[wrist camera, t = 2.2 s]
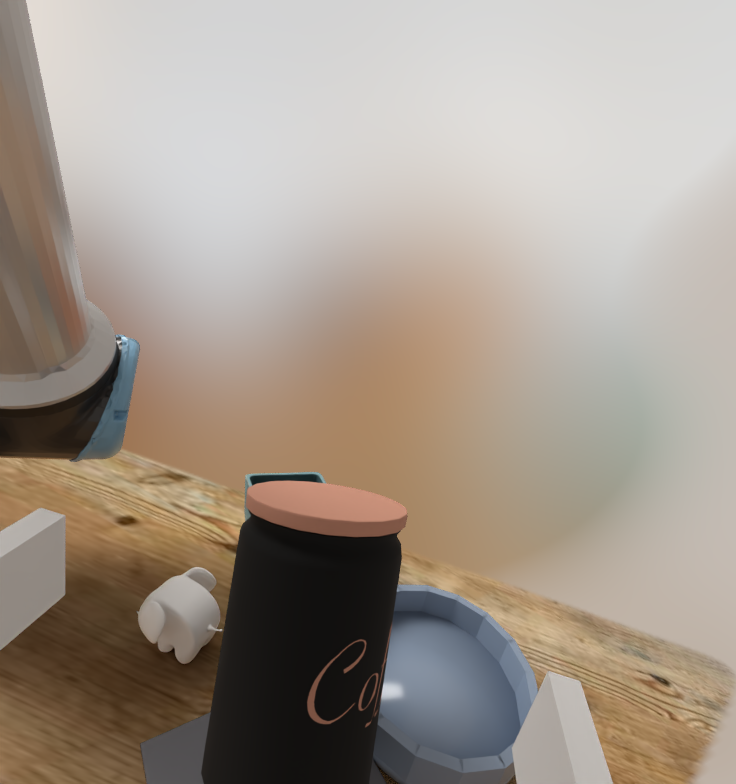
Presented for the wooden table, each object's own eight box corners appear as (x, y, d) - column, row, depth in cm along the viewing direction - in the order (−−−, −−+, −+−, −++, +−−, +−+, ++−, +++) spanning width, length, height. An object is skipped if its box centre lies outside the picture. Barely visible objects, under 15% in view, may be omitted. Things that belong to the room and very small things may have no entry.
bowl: (304, 645, 39) (311, 615, 38) (434, 592, 49) (442, 568, 48) (423, 861, 27) (438, 826, 26) (564, 733, 37) (579, 704, 36)
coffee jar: (296, 913, 20) (353, 532, 21) (159, 785, 26) (209, 485, 27) (395, 770, 30) (433, 508, 30) (279, 697, 35) (313, 476, 36)
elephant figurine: (172, 595, 41) (177, 545, 39) (242, 634, 39) (250, 582, 37) (108, 650, 35) (111, 593, 33) (187, 699, 33) (194, 641, 31)
